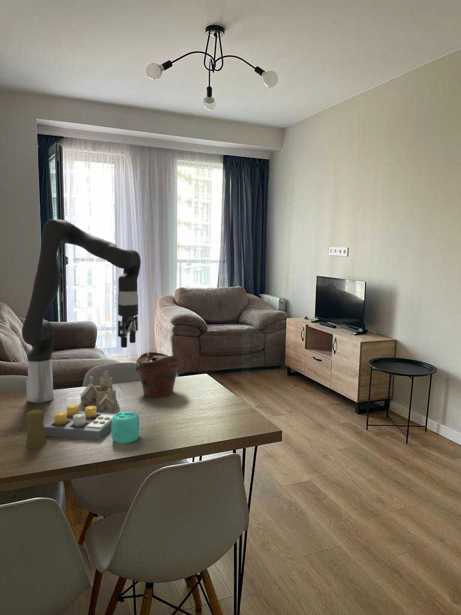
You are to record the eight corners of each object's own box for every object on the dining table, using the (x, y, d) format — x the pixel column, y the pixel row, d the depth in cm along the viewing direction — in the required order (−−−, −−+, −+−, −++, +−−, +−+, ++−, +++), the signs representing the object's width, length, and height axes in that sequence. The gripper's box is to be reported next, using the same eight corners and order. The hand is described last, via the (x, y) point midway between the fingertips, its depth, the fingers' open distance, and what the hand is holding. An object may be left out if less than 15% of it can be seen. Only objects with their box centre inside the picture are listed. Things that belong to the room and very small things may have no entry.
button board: (43, 435, 151) (43, 424, 151) (68, 418, 167) (68, 408, 166) (99, 440, 148) (98, 429, 147) (119, 422, 163) (119, 412, 163)
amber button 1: (52, 424, 152) (51, 415, 152) (58, 420, 156) (58, 411, 156) (62, 425, 152) (62, 416, 151) (69, 421, 155) (68, 412, 155)
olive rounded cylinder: (30, 440, 147) (28, 407, 146) (49, 439, 148) (47, 407, 146) (23, 448, 141) (21, 414, 140) (43, 447, 142) (41, 414, 140)
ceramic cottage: (81, 403, 182) (81, 368, 179) (122, 404, 184) (123, 369, 181) (71, 420, 167) (71, 382, 164) (116, 421, 168) (116, 383, 166)
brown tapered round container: (142, 385, 208) (142, 347, 206) (184, 387, 206) (184, 349, 203) (128, 398, 191) (127, 356, 188) (174, 400, 188) (174, 359, 186)
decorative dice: (136, 443, 145) (136, 419, 144) (111, 444, 145) (110, 420, 144) (139, 433, 153) (139, 411, 152) (115, 434, 153) (115, 411, 152)
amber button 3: (82, 417, 159) (82, 409, 158) (88, 413, 163) (88, 405, 162) (93, 418, 158) (93, 410, 158) (98, 414, 162) (98, 406, 162)
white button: (71, 425, 151) (70, 417, 151) (77, 421, 155) (76, 413, 155) (82, 426, 150) (81, 418, 150) (88, 422, 154) (87, 414, 154)
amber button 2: (64, 416, 160) (64, 407, 160) (70, 412, 164) (70, 404, 164) (75, 416, 159) (74, 408, 159) (80, 412, 163) (80, 404, 163)
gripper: (125, 300, 177) (126, 341, 179) (110, 304, 163) (111, 348, 165) (144, 301, 176) (144, 341, 178) (130, 305, 162) (130, 349, 164)
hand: (128, 345), depth 172 cm, fingers open, 8 cm apart
